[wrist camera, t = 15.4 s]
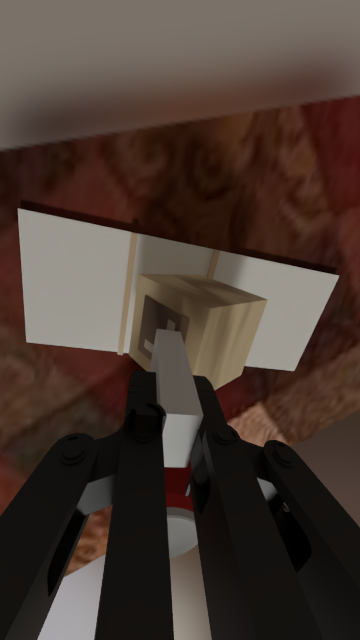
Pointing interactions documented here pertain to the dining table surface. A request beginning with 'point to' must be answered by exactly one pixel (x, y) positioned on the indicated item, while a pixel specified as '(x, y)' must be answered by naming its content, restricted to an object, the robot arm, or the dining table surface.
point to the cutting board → (151, 258)
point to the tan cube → (197, 322)
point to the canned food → (179, 511)
